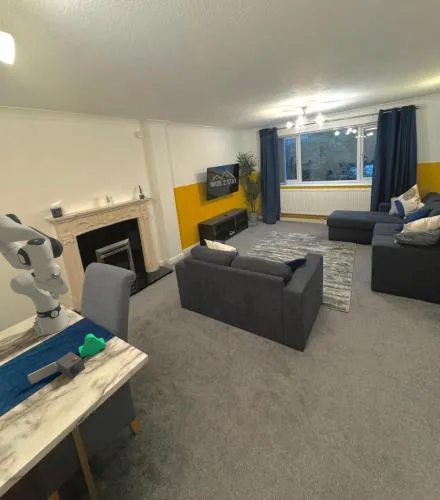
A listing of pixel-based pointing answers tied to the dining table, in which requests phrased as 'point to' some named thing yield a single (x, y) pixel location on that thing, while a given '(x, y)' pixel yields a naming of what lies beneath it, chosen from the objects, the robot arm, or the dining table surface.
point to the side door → (42, 372)
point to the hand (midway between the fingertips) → (56, 298)
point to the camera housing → (70, 365)
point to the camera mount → (91, 345)
